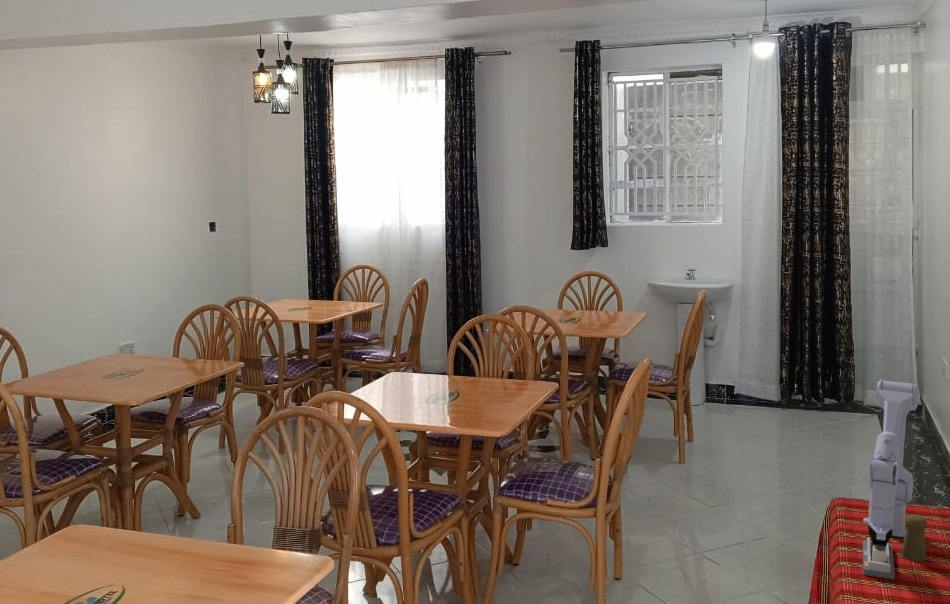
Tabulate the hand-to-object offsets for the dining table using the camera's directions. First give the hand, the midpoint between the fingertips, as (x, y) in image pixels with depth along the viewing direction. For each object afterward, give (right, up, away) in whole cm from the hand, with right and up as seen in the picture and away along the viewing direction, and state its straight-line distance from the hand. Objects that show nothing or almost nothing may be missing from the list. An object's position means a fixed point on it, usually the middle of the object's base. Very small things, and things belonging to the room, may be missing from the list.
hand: (878, 555), depth 221 cm
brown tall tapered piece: (+11, -2, +5) cm, 12 cm away
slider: (-1, -1, -3) cm, 3 cm away
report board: (+1, -2, +2) cm, 3 cm away
